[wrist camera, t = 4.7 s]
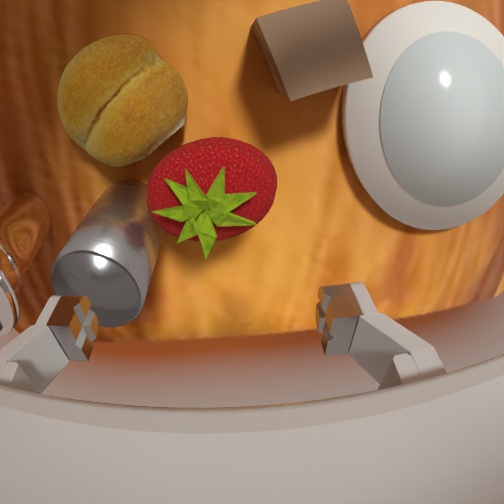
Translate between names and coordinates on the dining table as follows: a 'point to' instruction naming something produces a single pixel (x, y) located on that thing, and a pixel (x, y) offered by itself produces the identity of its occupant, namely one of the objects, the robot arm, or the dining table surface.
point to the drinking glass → (111, 255)
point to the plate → (429, 115)
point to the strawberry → (211, 190)
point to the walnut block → (312, 48)
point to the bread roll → (120, 99)
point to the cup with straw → (19, 250)
